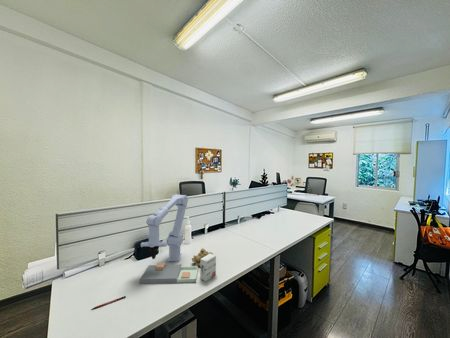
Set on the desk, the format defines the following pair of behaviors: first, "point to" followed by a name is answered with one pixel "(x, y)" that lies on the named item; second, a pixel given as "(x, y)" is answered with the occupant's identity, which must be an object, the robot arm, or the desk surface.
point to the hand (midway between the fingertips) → (153, 258)
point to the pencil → (108, 302)
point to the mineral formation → (200, 256)
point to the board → (161, 274)
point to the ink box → (207, 267)
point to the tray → (193, 274)
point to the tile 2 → (185, 275)
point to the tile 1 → (160, 266)
